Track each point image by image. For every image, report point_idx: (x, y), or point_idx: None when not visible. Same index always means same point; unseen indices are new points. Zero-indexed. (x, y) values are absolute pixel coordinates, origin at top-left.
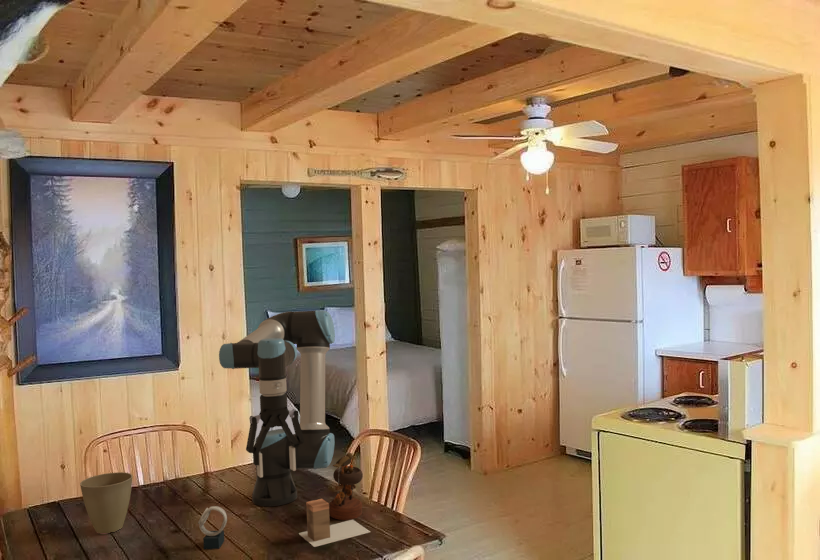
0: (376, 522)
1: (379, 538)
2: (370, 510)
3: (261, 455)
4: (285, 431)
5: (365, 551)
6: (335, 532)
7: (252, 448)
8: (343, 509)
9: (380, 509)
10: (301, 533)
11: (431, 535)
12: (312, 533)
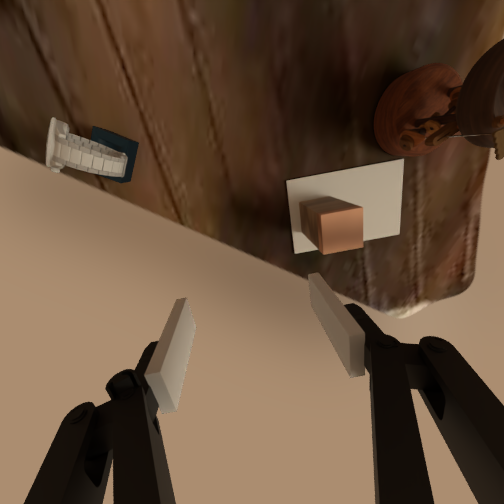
0: (431, 190)
1: (397, 260)
2: None
3: (175, 403)
4: (376, 497)
5: (356, 294)
6: None
7: (105, 464)
8: (403, 150)
9: None
10: (291, 184)
11: (464, 281)
12: (304, 228)
